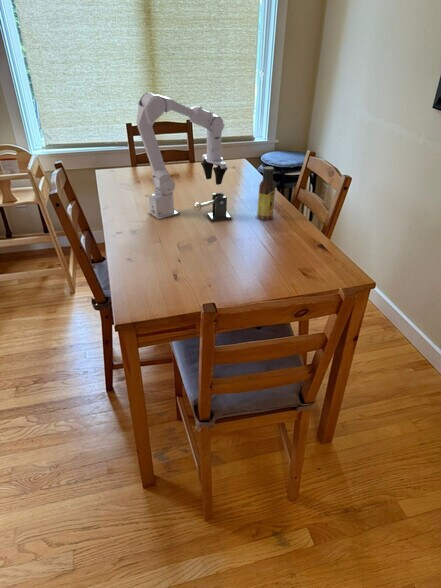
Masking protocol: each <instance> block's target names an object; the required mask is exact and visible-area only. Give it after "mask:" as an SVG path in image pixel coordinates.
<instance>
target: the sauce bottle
mask: <svg viewBox="0 0 441 588" xmlns="http://www.w3.org/2000/svg"><path fill="white" fill-rule="evenodd" d="M262 172H263V175H262V180H261V182H260V183H259V186H258V187H259V188H258V198H257V218H258V219H259V220H262V221H269V220H271V219H272V218H273V215H274V209H275V208H274V206H275V196H276V195H275V194H276V185H275V182H274V172H275V167H273V166H264V167H263V168H262Z"/></svg>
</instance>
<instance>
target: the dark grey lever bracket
mask: <svg viewBox="0 0 441 588" xmlns="http://www.w3.org/2000/svg"><path fill="white" fill-rule="evenodd" d="M220 195H222V196H223V197H217V196H220ZM224 195H225V194H224V192H216V193H212V195H211V197H212V199H211V201H212V200H215V203H214V204H211V209H212V210H211V212H208V213H207V217H208V219H209V220H210V221H211V223H212V222H220V221H231V220H232V216H231V215H230V213H228V210H227V209H228V208H227V207H228V196H224Z"/></svg>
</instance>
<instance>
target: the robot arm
mask: <svg viewBox="0 0 441 588" xmlns="http://www.w3.org/2000/svg"><path fill="white" fill-rule="evenodd" d="M137 105H138V106H137V107H138V109H137V115H136V122H135V123H136V127H137V130H138V132H139V135H140V138H141V141H142V144H143V146H144V150H145V153H146V156H147V159H148V161H149V164H150V166H151V174H152V178H151V181H152V185H153V187H155V188H154V192H153V193H152V194H149V196H148V206H149V211H148V213H149V214H150V215H152V216H153V217H154V218H157V219H158V220H160V219H165V218H169V217H171V216H176V215H179V211H177V210H175V199H174V191H175V189H176V184H175V181H174V180H173V179H172V178H171V175H170V173H169V170H168V169H167V167H166V164H165V162H164V158H163V155H162V152H161V149H160V145H159V143H158V140H157V137H156V134H155V130H154V128H153V126H154V124H155V122H156V121H157V120H158V119H159V118H160V117H161V116H162V115H164V113H169V112H170V111H172V112H174V113H177V114H180V115H183V116H185V117H188V120H189V122H190V123H192V124H194V125H197V126H199V127H202V128H204V129H206V154H202V156H201V158H202V161H200V165H201V166H202V169H203V172H204V176H205V179H206V180H211V179H212V178H213V172H214V177H215V185H217V186H219V185H222V182H223V179H224V176H225V174H226V172H227V170H228V167H227V163H226V162H224V161H225V160H224V158H223V157H222V135H223V134H222V132H223V130H224V128H225V123H224V119H223V118H222V117H221V116H219V115H216V114H215V113H214V112H213V111H208V110H205V109H204V108H203V107H202V106H201V105H197V106H193V107H189V106H186V105H185V104H183V103H181V102H178V101H177V100H174V99H172V98H171V97H168V96H163V95H160V94H155V93H153V92H145V93H143V94H142V95H141V97H140V98H139V101H138V102H137ZM214 165H215V167H214Z"/></svg>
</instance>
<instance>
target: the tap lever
mask: <svg viewBox="0 0 441 588" xmlns="http://www.w3.org/2000/svg"><path fill="white" fill-rule="evenodd" d="M217 197H223V196H222V195H220V196H217ZM214 203H215V200H212V199H211V200H209V201H205V202H203V203H200V202H196V203H194V205H193V209H194V210H195V211H198V212H199V211H201V210H202V208H204V207H208V206H212V204H214Z"/></svg>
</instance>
